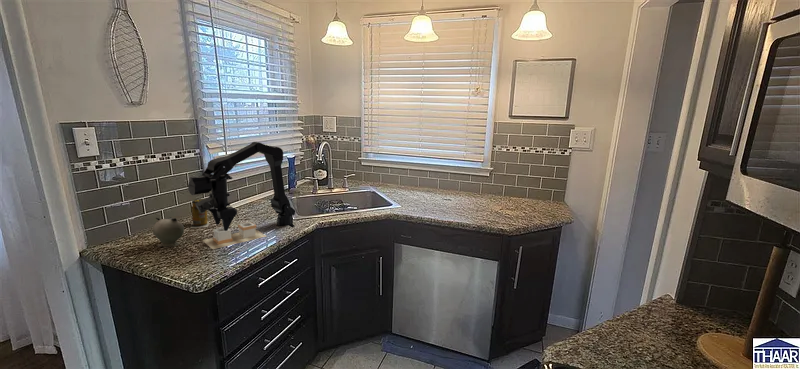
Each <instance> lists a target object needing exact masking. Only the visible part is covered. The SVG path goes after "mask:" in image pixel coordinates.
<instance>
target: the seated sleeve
mask: <svg viewBox="0 0 800 369" xmlns="http://www.w3.org/2000/svg"><path fill="white" fill-rule="evenodd" d="M237 228H238V231H239V235H240V236H241V237H243V238H248V237H253V236H256V231H255V229H257V225H256V224H255V223H253V222H251V221H249V222H244V223H238V224H237Z"/></svg>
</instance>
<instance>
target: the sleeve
mask: <svg viewBox="0 0 800 369" xmlns="http://www.w3.org/2000/svg"><path fill="white" fill-rule="evenodd" d="M212 230H213V237H212V238H213V241H214V242H216V243H217V244H223V243H227V242H231V241H233V239H232V238H231V234H232V230H231V229H230V227H229V228H228V230H227V231H224V228H223V227H219V228H214V229H212Z"/></svg>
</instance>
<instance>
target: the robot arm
mask: <svg viewBox="0 0 800 369" xmlns="http://www.w3.org/2000/svg"><path fill="white" fill-rule="evenodd" d="M258 153H259V154H263V155H264V158H265V161H266V162H267V164H268V166H269V170H270V175H271V183H272V188H273V197H272V198H270V207H271V208H272V209H273V211H274V212H275V213H276V214H277V217H276V225H277V226H279V227H287V226H288V227H290V228H293V227H295V226H296V225H295V224H294V217H293V216H295V214H296V209H294V208H293V206H291V203H290V199H289V197H288V196H287V195H286V191H285V184H284V183H285V182H284V177H283V176H284V175H283V172H282V171H283V169H282V163H283V161H284V150H283V149H282V148H281V147H279V146H274V145H267V144H264V143H262V142H258V141H253V142H251V143H249V144H248V145H246V146H244V147H242V148H240V149H238V150H236V151H235V152H232V153H230V154H229V155H226V156H225V155H224V156H220V157H216V158H213V159H211V160H209V161H208V163H207V165H206V166H207V167H206V168H205V170H204V171H203V173H202V175H201V176H190V178H189V179H190V180H188V184H187V189H188V192H189V194H190V195H192V196H195V195H196V196H197V195H203V194H208V197H207V198H204V199H203V198H202V199H203V200H201V201H199V202H197V203H195V205H196V207H197V208H198V210H199V211H200V212H201V213H203V212H205V211H206V210H207V211H209V212H210V213H211V214H212V217H213V219H214V223H215V225H217V226H218V225H220V224H221V223H222V228H224V231H227V230H228V228H229V229H230V226H231V223H232V222H233V220H234V218H235V217H236V216H237V215H238V209H236V208H235V207H233V206H231V203H230V202H229V197H230V193H229V192H228V180H232V179H233V177H232V176H230V175H229V172H230V171H232V169H234V167H235V166H236V165H237V164H239V163H241V162H243V161H245V160H246V159H249V158H251V157H252V156H255V155H256V154H258Z"/></svg>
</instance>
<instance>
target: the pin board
mask: <svg viewBox="0 0 800 369" xmlns="http://www.w3.org/2000/svg"><path fill="white" fill-rule="evenodd" d="M255 231H256V236H253V237H248V238H243V237H241V236H240V235H239V232H235V233H231V238H232V239H233V241H231V242H227V243H223V244H217V243H216V242H214V241H213V238H214V237H210V238H206V239H202V240H201V241H202V242H203V243H205V245H207V246H208V247H209V248H210V249H212V250H215V249H221V248H224V247H228V246H232V245H235V244H241V243H245V242H249V241H254V240H258V239H262V238H266V237H267V235H266V234H264V233H262V232H261V231H260V230H258V229H257V228H255Z"/></svg>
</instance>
